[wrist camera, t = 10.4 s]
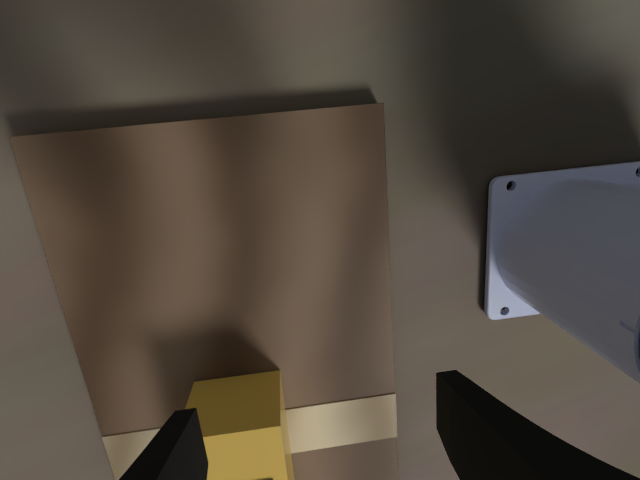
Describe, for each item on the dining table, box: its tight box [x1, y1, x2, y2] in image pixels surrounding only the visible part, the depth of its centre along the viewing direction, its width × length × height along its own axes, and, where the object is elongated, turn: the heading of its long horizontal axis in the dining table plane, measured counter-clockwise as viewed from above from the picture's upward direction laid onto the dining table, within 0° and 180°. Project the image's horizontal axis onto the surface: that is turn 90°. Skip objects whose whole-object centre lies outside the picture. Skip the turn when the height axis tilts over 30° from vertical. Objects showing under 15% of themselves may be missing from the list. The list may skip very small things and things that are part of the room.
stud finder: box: [185, 370, 295, 480], centre depth 19 cm, size 4×8×4 cm, turn 5°
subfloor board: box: [9, 103, 399, 480], centre depth 20 cm, size 16×24×1 cm, turn 5°
